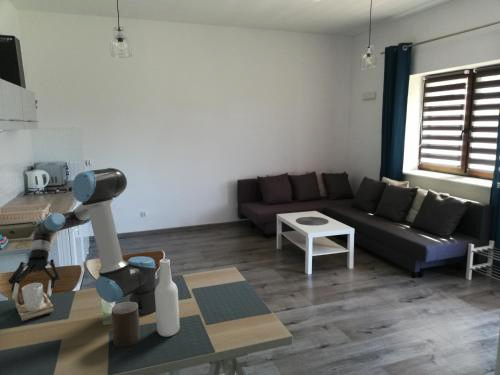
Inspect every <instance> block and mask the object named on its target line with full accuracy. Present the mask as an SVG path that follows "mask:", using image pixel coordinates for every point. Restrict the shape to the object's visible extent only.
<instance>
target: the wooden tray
mask: <svg viewBox="0 0 500 375" xmlns="http://www.w3.org/2000/svg"><path fill="white" fill-rule="evenodd" d="M43 302H44V306H43V307H42V308H41V309H38V310H35V311H27V310H26V307H25V304H24V305H20V304H19V303H18V298H17V299H16V300H14V305H15V308H16V310H17V312H18V315H19V317H20V320H21V321H24V322H28V320H30V319H33V318H36V317H39V316H42V315H45V314H46V315H47V314H48V315H50V314H52V313H51V312H54V309H55V308H54V305H53V304H52V302H51V300H50V298H49V296H48V295H47V293H46V292H45V291H43Z"/></svg>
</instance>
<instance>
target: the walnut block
mask: <svg viewBox="0 0 500 375" xmlns="http://www.w3.org/2000/svg"><path fill="white" fill-rule="evenodd" d="M17 299H18V303H19V304H20V305H24V304H25V303H24V299H23V294H22V292H20V293H18V294H17Z"/></svg>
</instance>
